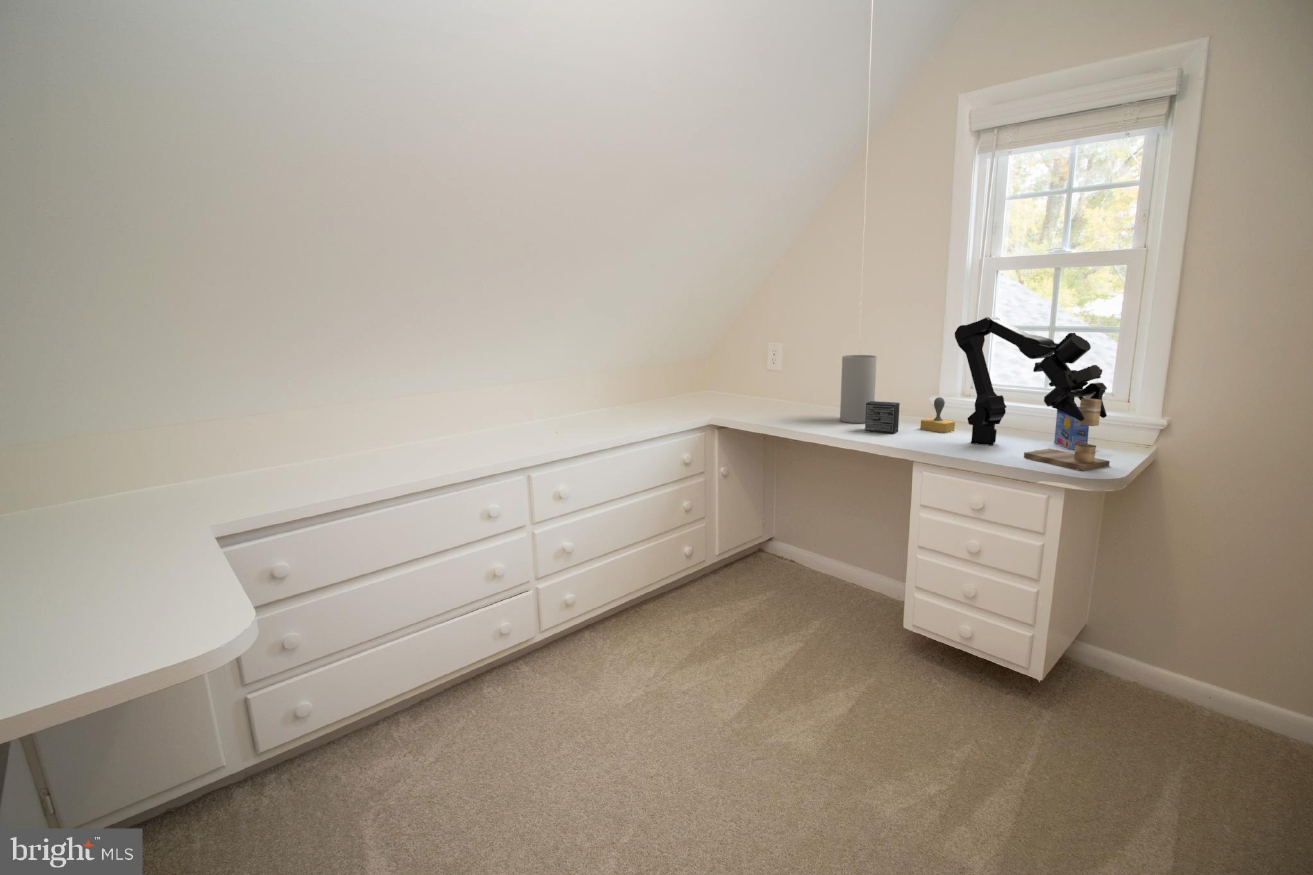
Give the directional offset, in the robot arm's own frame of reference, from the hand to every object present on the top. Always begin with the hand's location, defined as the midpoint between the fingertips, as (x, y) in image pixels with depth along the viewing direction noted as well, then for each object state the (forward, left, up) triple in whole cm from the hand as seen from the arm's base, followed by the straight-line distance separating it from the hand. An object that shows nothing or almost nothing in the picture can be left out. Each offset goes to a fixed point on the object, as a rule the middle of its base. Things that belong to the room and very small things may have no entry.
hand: (1094, 418), depth 176 cm
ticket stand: (-5, +4, -14) cm, 15 cm away
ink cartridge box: (-4, +27, -14) cm, 30 cm away
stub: (-1, +1, -2) cm, 2 cm away
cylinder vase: (-74, +42, -14) cm, 86 cm away
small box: (-61, +26, -14) cm, 68 cm away
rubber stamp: (-44, +36, -14) cm, 58 cm away
